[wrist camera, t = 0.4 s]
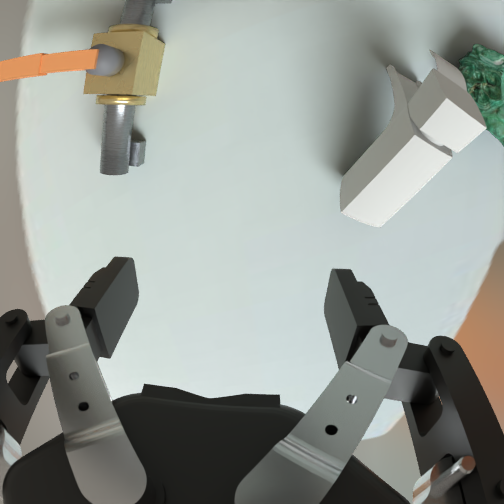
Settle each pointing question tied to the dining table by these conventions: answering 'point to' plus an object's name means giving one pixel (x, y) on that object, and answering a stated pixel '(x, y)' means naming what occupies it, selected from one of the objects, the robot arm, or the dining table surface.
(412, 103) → the faucet
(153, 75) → the valve
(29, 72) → the lever
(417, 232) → the dining table surface
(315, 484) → the robot arm
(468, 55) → the mineral
